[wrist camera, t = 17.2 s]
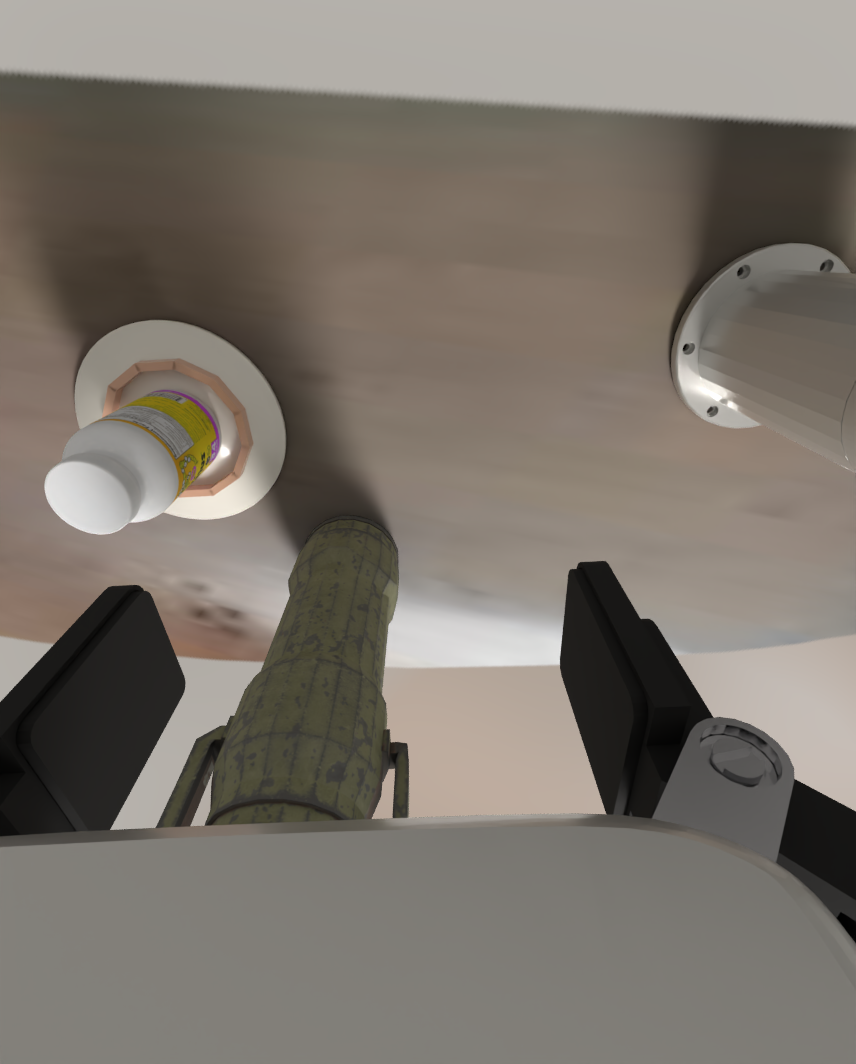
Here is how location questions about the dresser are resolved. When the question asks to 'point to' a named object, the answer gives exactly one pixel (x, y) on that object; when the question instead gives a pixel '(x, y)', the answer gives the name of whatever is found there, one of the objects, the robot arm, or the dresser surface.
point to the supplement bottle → (133, 461)
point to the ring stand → (213, 377)
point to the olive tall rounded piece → (311, 699)
